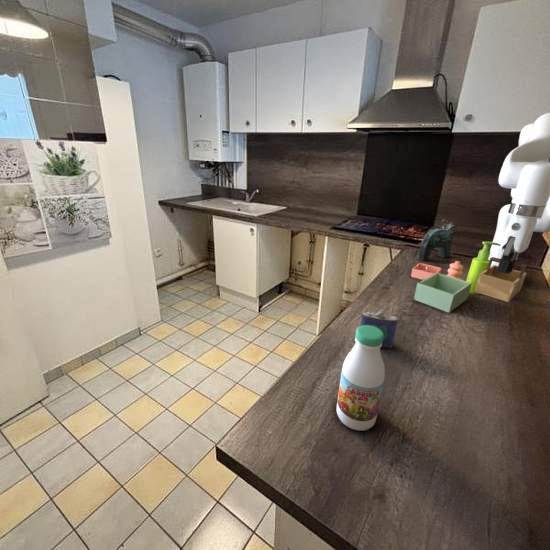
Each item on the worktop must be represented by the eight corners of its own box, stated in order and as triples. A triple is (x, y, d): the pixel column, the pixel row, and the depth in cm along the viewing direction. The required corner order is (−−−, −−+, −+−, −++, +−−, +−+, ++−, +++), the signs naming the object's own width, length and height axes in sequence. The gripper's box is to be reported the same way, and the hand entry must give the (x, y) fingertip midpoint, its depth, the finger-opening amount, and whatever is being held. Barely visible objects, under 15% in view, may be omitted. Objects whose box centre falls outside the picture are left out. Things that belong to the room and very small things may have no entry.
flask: (392, 344, 80) (399, 310, 76) (393, 350, 78) (400, 316, 74) (357, 338, 83) (362, 305, 79) (357, 344, 80) (362, 310, 76)
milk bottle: (331, 401, 62) (342, 320, 54) (367, 399, 62) (382, 318, 54) (342, 433, 55) (356, 345, 47) (382, 430, 55) (402, 343, 47)
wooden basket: (487, 281, 98) (497, 252, 94) (520, 290, 92) (531, 260, 88) (474, 291, 90) (483, 260, 86) (508, 302, 84) (520, 269, 80)
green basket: (433, 288, 114) (437, 272, 112) (466, 300, 106) (472, 282, 103) (413, 300, 105) (417, 283, 102) (448, 314, 96) (454, 295, 94)
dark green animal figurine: (442, 254, 155) (451, 216, 147) (453, 258, 149) (463, 219, 141) (414, 258, 147) (423, 219, 139) (425, 263, 142) (435, 222, 134)
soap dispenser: (486, 296, 109) (504, 245, 101) (466, 294, 110) (482, 243, 103) (480, 289, 115) (496, 240, 107) (460, 287, 116) (475, 239, 108)
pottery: (410, 277, 124) (415, 255, 121) (417, 271, 131) (422, 250, 127) (458, 290, 114) (465, 266, 110) (463, 282, 120) (469, 260, 116)
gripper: (536, 216, 74) (511, 282, 81) (548, 210, 83) (525, 269, 90) (501, 211, 79) (481, 273, 86) (516, 206, 88) (497, 263, 96)
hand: (504, 271), depth 88 cm, fingers closed on wooden basket, 1 cm apart
